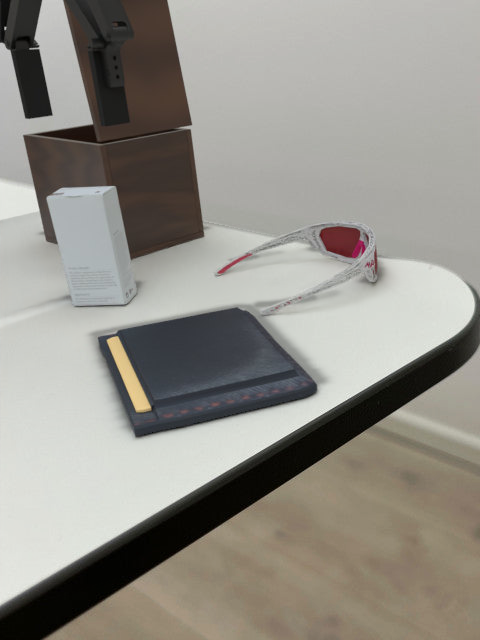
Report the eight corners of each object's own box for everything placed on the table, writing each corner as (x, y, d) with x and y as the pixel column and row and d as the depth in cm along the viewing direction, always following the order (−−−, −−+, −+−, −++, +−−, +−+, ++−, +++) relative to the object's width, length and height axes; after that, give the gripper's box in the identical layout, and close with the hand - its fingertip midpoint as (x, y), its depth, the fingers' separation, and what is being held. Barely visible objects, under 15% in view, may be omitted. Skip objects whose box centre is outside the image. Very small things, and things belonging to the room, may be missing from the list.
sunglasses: (411, 284, 84) (403, 241, 81) (271, 343, 78) (259, 299, 76) (340, 246, 98) (332, 209, 95) (217, 294, 92) (205, 255, 89)
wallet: (319, 374, 61) (122, 417, 55) (320, 395, 61) (126, 440, 56) (250, 296, 77) (94, 324, 72) (252, 314, 78) (98, 342, 73)
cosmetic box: (138, 292, 85) (119, 183, 80) (125, 307, 81) (105, 193, 76) (84, 293, 86) (62, 185, 81) (69, 308, 82) (44, 195, 76)
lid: (54, -33, 83) (91, -47, 79) (156, -33, 93) (194, -45, 88) (97, 141, 90) (133, 138, 85) (188, 125, 99) (225, 122, 95)
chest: (46, 241, 106) (22, 134, 100) (128, 219, 115) (111, 120, 109) (120, 262, 96) (99, 145, 90) (204, 236, 105) (191, 129, 99)
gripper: (-80, -117, 72) (-23, 119, 81) (67, -160, 57) (117, 133, 66) (-3, -111, 77) (43, 110, 86) (149, -149, 62) (186, 122, 71)
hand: (75, 121), depth 76 cm, fingers open, 13 cm apart
